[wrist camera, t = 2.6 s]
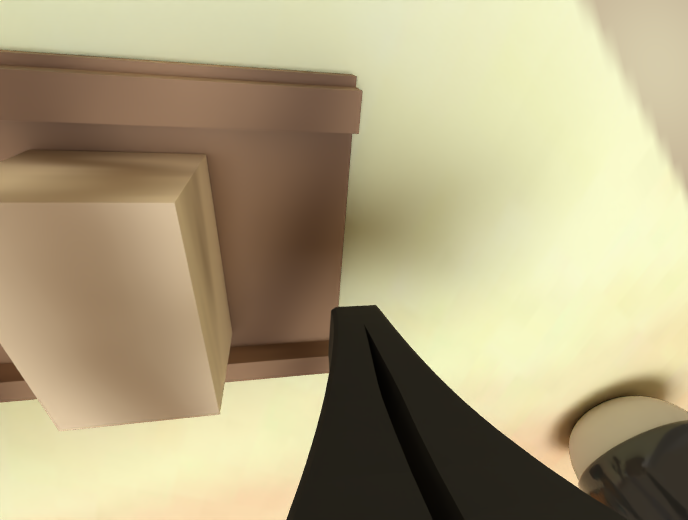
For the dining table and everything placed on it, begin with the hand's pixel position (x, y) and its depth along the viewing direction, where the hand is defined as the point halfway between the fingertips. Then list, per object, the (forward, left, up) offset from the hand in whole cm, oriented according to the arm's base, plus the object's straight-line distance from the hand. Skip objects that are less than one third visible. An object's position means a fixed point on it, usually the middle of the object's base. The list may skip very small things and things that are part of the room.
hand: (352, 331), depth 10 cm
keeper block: (-7, 0, -5) cm, 8 cm away
